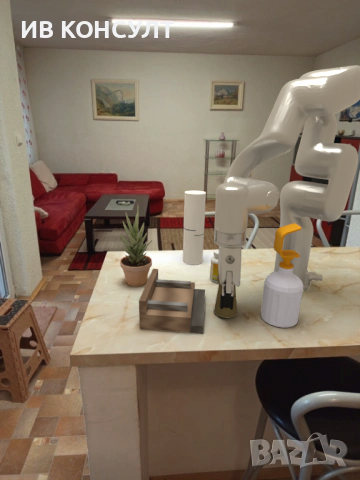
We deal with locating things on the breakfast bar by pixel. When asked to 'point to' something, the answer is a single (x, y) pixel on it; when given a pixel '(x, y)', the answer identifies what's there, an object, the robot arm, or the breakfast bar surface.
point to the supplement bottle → (214, 267)
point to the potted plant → (135, 254)
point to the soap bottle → (282, 286)
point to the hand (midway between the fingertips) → (226, 303)
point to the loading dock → (171, 305)
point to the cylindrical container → (193, 227)
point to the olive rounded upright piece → (225, 311)
